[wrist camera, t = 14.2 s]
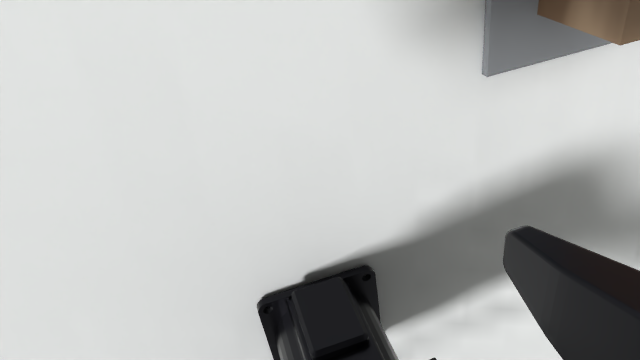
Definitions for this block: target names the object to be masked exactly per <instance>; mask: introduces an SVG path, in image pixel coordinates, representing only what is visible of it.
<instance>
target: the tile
mask: <svg viewBox="0 0 640 360" xmlns="http://www.w3.org/2000/svg"><path fill="white" fill-rule="evenodd" d="M538 3H539V0H486V10H485V28H484V47H483V66H482V74H483V75H485V76H486V77H489V76H492V75H496V74H500V73H503V72H507V71H511V70H514V69H518V68H522V67H525V66H529V65H533V64H536V63H540V62H544V61H547V60H551V59H555V58H559V57H562V56H566V55H570V54H573V53H577V52H581V51H584V50H588V49H592V48H595V47H599V46H603V45H606V44H610V43H612V42H610V41H607V40H604V39H602V38H599V37H596V36H594V35H591V34H588V33H586V32H583V31H580V30H578V29H575V28H572V27H570V26H567V25H564V24H562V23H559V22H556V21H554V20H551V19H548V18H545V17H543V16H540V15H537V11H538Z"/></svg>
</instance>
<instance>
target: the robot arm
mask: <svg viewBox="0 0 640 360" xmlns="http://www.w3.org/2000/svg"><path fill="white" fill-rule="evenodd" d="M503 264H504V268H505V270H506V272H507V274H508V276H509V277H510V279H511V280H512V282H513V284H514V285H515V287H516V289H517V290H518V292H519V294H520V295H521V297H522V298H523V300H524V302H525V303H526V305H527V307H528V308H529V310H530V312H531V313H532V315H533V316H534V318H535V320H536V321H537V323H538V325H539V326H540V328H541V329H542V331H543V332H544V334H545V336H546V337H547V338H548V340H549V341H550V343H551V344H552V345H553V347H554V348H555V349H556V351H557V352H558V353H559V355H560V356H561V357H562V359H563V360H640V271H639V270H636V269H634V268H632V267H629V266H627V265H624V264H622V263H619V262H617V261H614V260H612V259H609V258H607V257H604V256H602V255H600V254H597V253H595V252H592V251H590V250H587V249H585V248H582V247H580V246H577V245H575V244H572V243H570V242H568V241H565V240H563V239H560V238H558V237H555V236H553V235H550V234H548V233H545V232H543V231H541V230H538V229H536V228H533V227H530V226H522V227H519V228H516V229H513V230H510V231H508V232H507V234H506V237H505V246H504V256H503ZM366 274H367V275H366ZM364 275H365V276H364ZM266 307H268V308H266ZM257 309H258V313H259V316H260V319H261V322H262V325H263V328H264V331H265V334H266V337H267V340H268V343H269V346H270V349H271V352H272V355H273V358H274V360H399V359H398V358H397V356H396V354H395V352H394V350H393V348H392V346H391V344H390V342H389V340H388V338H387V336H386V334H385V332H384V330H383V328H382V326H381V322H380V313H379V304H378V295H377V286H376V277H375V273H374V271H373V269H372V267H370V266H362V267H359V268H356V269H353V270H350V271H346V272H343V273H340V274H337V275H334V276H331V277H328V278H325V279H322V280H319V281H316V282H313V283H310V284H306V285H303V286H300V287H297V288H294V289H291V290H288V291H285V292H282V293H279V294H276V295H273V296H270V297H266V298H264V299H262V300H260V301H259V302H258V304H257ZM430 360H436V358H435V357H434V358H432V359H430Z"/></svg>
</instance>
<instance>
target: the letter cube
mask: <svg viewBox="0 0 640 360" xmlns="http://www.w3.org/2000/svg"><path fill="white" fill-rule="evenodd" d="M537 15H540V16H543V17H545V18H548V19H551V20H554V21H556V22H559V23H562V24H564V25H567V26H570V27H572V28H575V29H578V30H580V31H583V32H586V33H588V34H591V35H594V36H596V37H599V38H602V39H604V40H607V41H610V42H612V43H615V44H618V45H623V44H627V43H630V42H634V41H638V40H640V0H539V3H538V11H537Z"/></svg>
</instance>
